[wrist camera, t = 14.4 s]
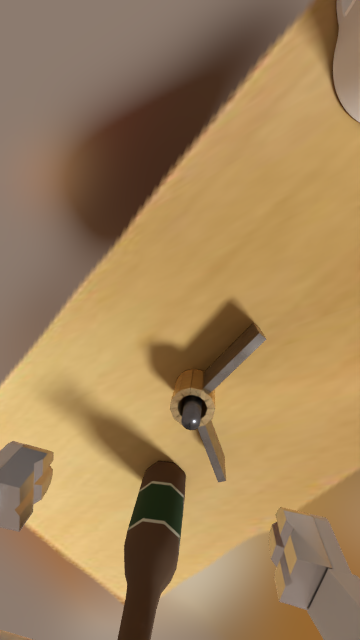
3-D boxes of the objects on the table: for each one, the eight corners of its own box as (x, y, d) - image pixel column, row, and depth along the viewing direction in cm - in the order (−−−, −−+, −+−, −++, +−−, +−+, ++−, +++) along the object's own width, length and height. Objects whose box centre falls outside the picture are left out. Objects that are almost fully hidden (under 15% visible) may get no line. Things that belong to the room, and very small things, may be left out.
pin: (194, 377, 42) (189, 409, 33) (206, 386, 42) (204, 421, 33) (184, 387, 42) (177, 421, 34) (196, 396, 43) (191, 433, 34)
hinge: (241, 311, 38) (246, 322, 33) (316, 377, 40) (334, 399, 34) (151, 404, 44) (142, 427, 38) (220, 459, 45) (221, 490, 39)
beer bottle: (176, 501, 48) (146, 730, 25) (138, 483, 48) (71, 696, 25) (195, 470, 46) (179, 690, 23) (154, 452, 46) (98, 652, 23)
